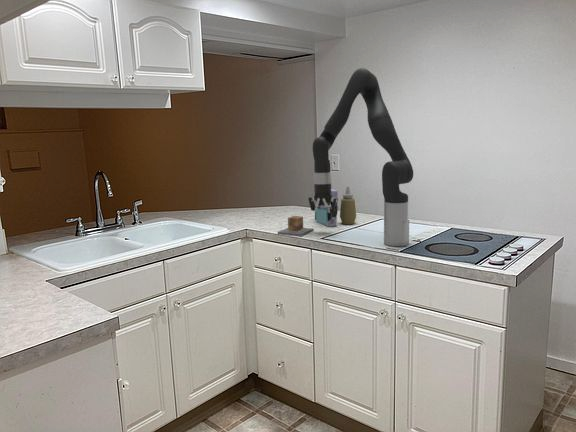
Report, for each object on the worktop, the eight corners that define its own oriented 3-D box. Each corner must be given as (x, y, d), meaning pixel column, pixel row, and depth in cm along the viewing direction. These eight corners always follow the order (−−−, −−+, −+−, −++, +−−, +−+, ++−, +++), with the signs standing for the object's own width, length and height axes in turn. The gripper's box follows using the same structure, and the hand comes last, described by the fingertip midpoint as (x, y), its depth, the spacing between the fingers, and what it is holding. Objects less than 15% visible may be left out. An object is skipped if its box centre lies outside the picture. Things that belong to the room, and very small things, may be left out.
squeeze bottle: (351, 225, 222) (350, 188, 219) (336, 224, 227) (336, 187, 224) (359, 222, 228) (359, 186, 225) (345, 221, 233) (344, 185, 230)
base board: (313, 230, 214) (313, 228, 214) (300, 236, 204) (300, 234, 204) (291, 228, 220) (291, 226, 220) (277, 233, 210) (277, 231, 210)
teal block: (331, 221, 209) (330, 207, 208) (326, 223, 205) (326, 209, 204) (321, 220, 212) (320, 207, 211) (316, 222, 208) (315, 209, 206)
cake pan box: (338, 226, 221) (338, 190, 218) (328, 227, 220) (328, 190, 216) (323, 219, 239) (322, 185, 236) (314, 220, 238) (313, 186, 234)
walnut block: (303, 229, 213) (302, 216, 212) (297, 231, 209) (297, 218, 207) (293, 228, 215) (293, 215, 214) (288, 230, 211) (287, 217, 210)
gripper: (341, 181, 205) (341, 219, 208) (312, 181, 212) (313, 218, 215) (334, 183, 199) (334, 222, 202) (304, 183, 206) (305, 220, 209)
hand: (323, 220), depth 208 cm, fingers closed on teal block, 5 cm apart
